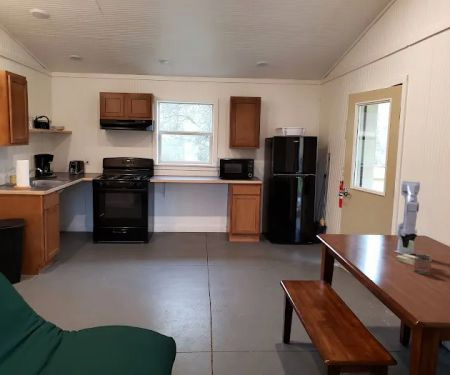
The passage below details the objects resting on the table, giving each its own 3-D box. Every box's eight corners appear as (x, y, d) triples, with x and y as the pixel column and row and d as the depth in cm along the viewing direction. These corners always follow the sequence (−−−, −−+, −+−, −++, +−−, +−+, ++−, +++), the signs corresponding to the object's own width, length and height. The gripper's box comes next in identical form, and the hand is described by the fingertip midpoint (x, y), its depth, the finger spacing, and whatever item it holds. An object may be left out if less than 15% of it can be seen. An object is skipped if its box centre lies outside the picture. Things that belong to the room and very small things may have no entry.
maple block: (405, 258, 227) (405, 253, 227) (422, 263, 219) (422, 258, 219) (395, 261, 221) (396, 256, 221) (412, 266, 213) (413, 261, 213)
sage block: (404, 247, 223) (405, 239, 222) (412, 249, 220) (413, 241, 219) (401, 248, 220) (402, 240, 220) (408, 250, 217) (410, 242, 216)
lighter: (429, 272, 202) (431, 254, 201) (430, 275, 199) (432, 256, 198) (412, 270, 205) (414, 252, 203) (413, 272, 202) (415, 253, 200)
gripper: (409, 220, 226) (406, 243, 227) (396, 223, 216) (394, 246, 218) (421, 223, 220) (418, 246, 222) (409, 225, 211) (406, 249, 213)
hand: (407, 246), depth 220 cm, fingers closed on sage block, 4 cm apart
